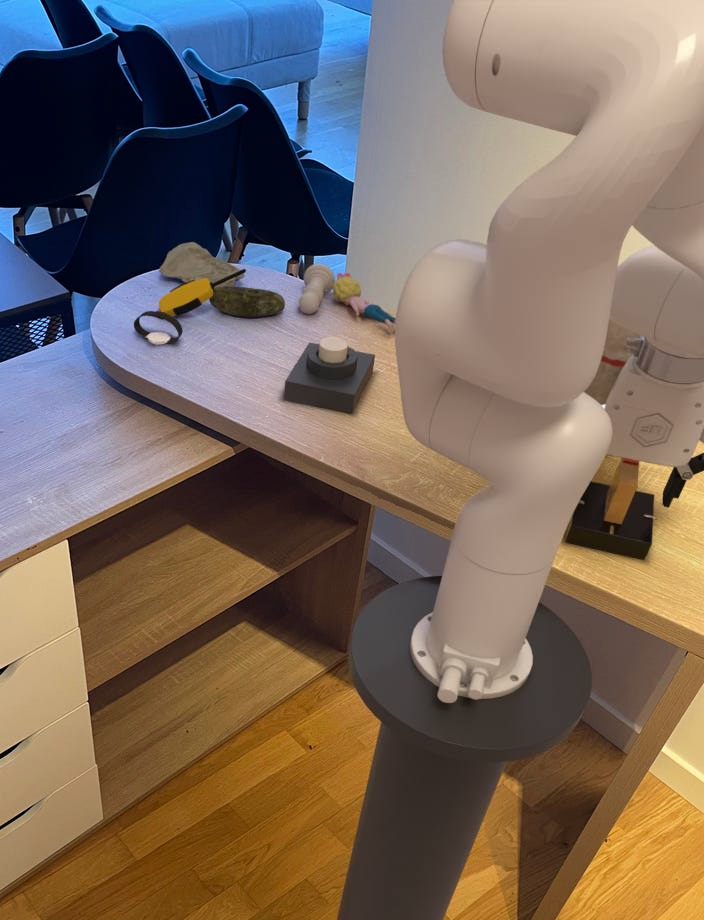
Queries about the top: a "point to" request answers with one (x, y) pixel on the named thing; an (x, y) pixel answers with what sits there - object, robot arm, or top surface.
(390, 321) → the figurine
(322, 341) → the white push button
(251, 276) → the top surface
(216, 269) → the stone
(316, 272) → the chess piece
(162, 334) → the watch
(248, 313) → the decorative stone
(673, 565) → the top surface
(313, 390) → the dark grey button base
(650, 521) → the panel
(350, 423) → the top surface
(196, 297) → the walkie talkie
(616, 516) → the knob
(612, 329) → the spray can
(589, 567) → the top surface
